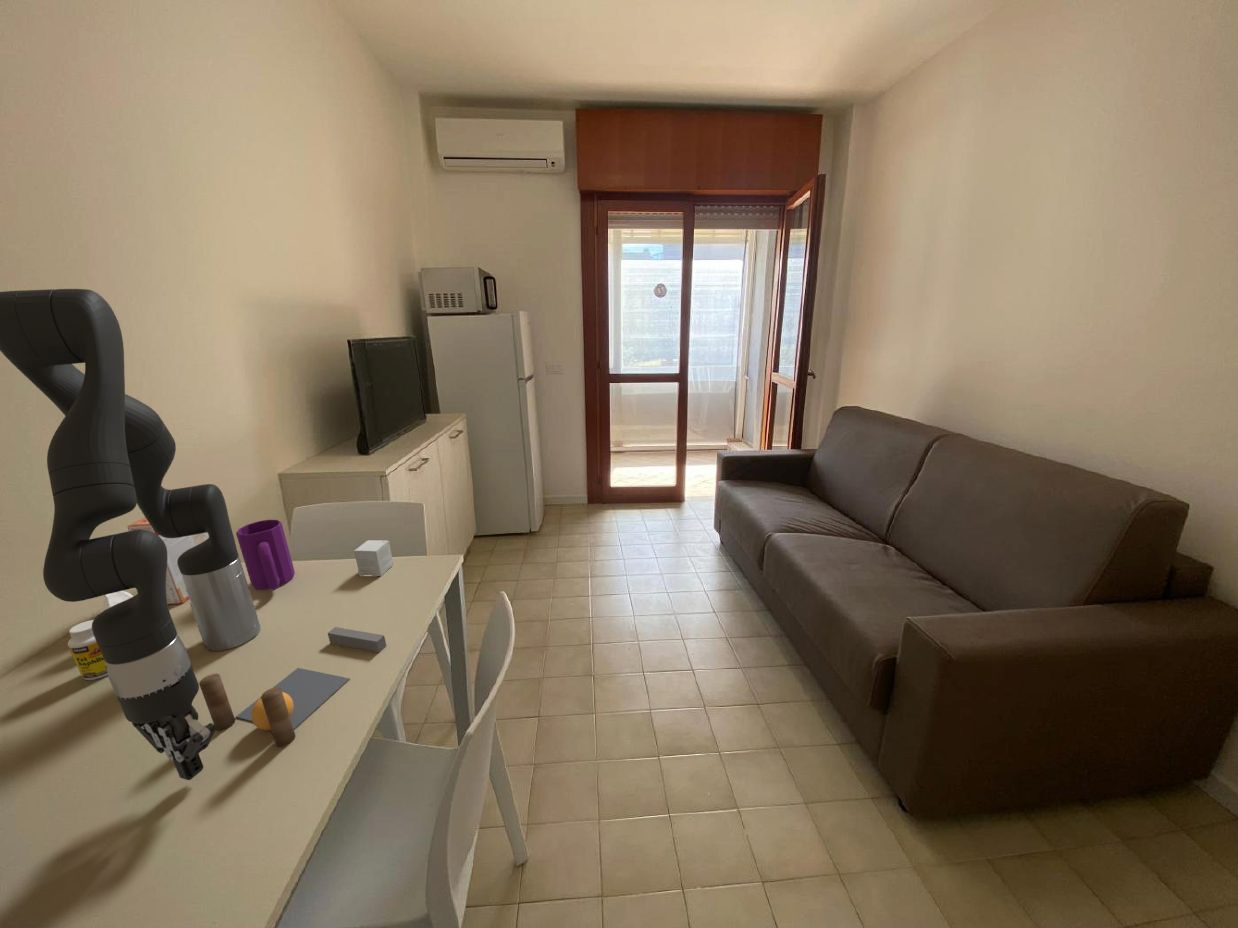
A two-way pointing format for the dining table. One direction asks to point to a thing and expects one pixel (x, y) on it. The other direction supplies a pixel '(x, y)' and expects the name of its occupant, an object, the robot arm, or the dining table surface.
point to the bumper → (357, 639)
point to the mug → (266, 554)
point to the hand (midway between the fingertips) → (192, 773)
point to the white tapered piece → (114, 599)
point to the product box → (373, 557)
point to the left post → (217, 702)
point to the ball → (260, 715)
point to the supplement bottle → (87, 652)
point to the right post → (278, 716)
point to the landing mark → (304, 693)
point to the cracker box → (173, 560)
